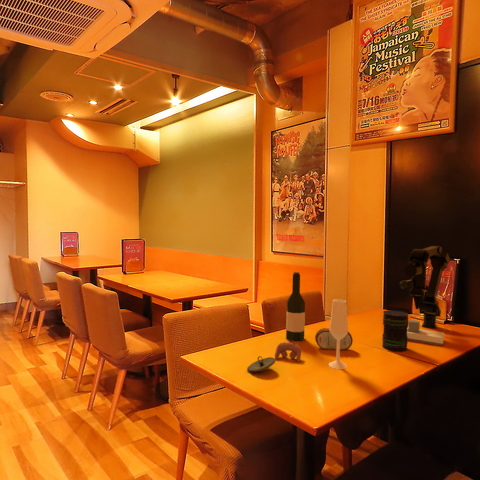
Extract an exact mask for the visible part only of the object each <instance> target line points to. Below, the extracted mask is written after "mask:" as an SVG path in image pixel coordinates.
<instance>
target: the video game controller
mask: <svg viewBox="0 0 480 480" xmlns="http://www.w3.org/2000/svg"><path fill="white" fill-rule="evenodd" d="M288 351H289V352H290V353H289V358H291V359H292V360H294V359H295V358H296V361H297V363H299V362H300V361H301V357H302V348H301V346H299V345H298V344H297V343H294V342H288V341H287V342H286V341H285V342H280V343H279V344H277V346H276V349H275V353H274V358H275V359H276V360H278V359H279V357H280V355H281V356H282V358H287V357H288Z"/></svg>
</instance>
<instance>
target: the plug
mask: <svg viewBox="0 0 480 480" xmlns="http://www.w3.org/2000/svg"><path fill="white" fill-rule="evenodd" d="M420 322H421V321H420V320H415V319H409V320H408V328H409V332H413V333H419V329H420Z"/></svg>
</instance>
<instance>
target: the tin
mask: <svg viewBox="0 0 480 480" xmlns="http://www.w3.org/2000/svg"><path fill="white" fill-rule="evenodd" d="M329 328H330V327H329ZM329 328H327V327H325V328H320V329H319V330H317V332H316V333H315V337H314V340H315V342H316V345H317V346H318V347H319V348H320V349H323V350H332V351H336V350H337V339H335V338H334V337H333V336H332V335H331V333H330V331H329ZM353 341H354V340H353V336H352V333H350V331H348V333H347V335H346V336H345V337H344V338H342V339H341V340H340V351H346V350H349V349H350V348H351V347H352V345H353Z"/></svg>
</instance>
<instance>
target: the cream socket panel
mask: <svg viewBox="0 0 480 480" xmlns="http://www.w3.org/2000/svg"><path fill="white" fill-rule="evenodd" d="M407 337H408V340H407V341H409V342H414V343H422V344H429V345H435V346H441V347H444V343H445V332H441V331H433V330H426V329H421V328H419V333H413V332H409V327H408V328H407Z"/></svg>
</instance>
